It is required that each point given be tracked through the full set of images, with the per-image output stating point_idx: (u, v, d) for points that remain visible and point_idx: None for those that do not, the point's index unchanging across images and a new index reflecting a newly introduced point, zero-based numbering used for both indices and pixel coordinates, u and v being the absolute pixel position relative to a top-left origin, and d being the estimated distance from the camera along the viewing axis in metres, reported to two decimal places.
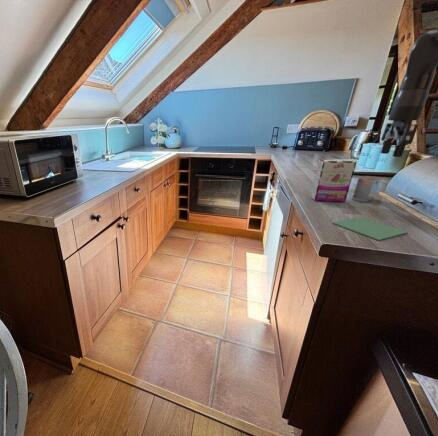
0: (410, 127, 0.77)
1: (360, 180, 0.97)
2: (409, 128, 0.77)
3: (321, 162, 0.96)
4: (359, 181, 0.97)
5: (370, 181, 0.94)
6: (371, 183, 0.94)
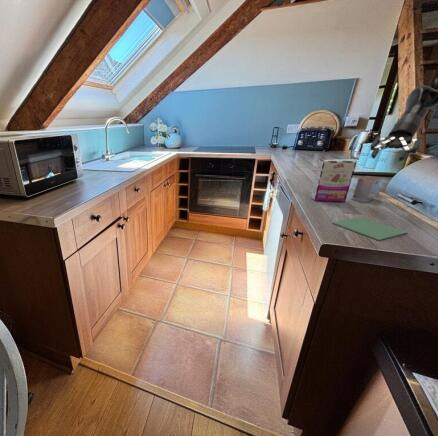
0: (421, 140, 0.95)
1: (360, 180, 0.97)
2: (420, 141, 0.95)
3: (321, 162, 0.96)
4: (359, 181, 0.97)
5: (370, 181, 0.94)
6: (371, 183, 0.94)
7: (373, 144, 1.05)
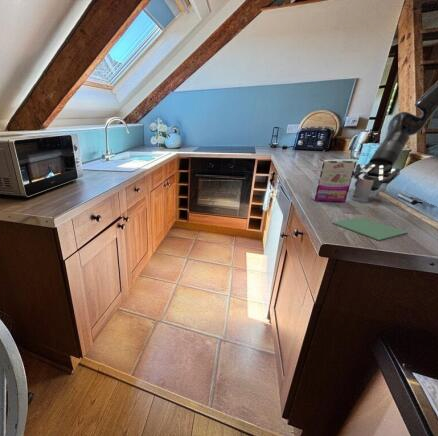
0: (398, 172, 0.93)
1: (360, 180, 0.97)
2: (398, 172, 0.93)
3: (321, 162, 0.96)
4: (359, 181, 0.97)
5: (370, 181, 0.94)
6: (371, 183, 0.94)
7: (356, 173, 1.01)
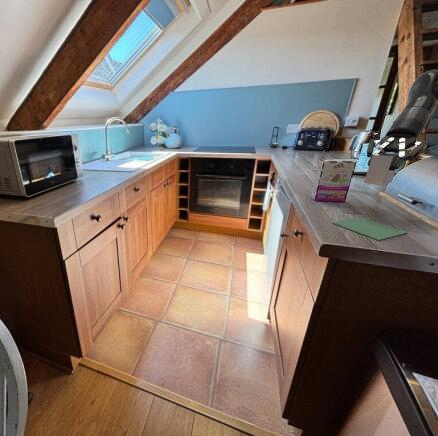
0: (425, 145, 0.72)
1: (375, 157, 0.76)
2: (424, 145, 0.72)
3: (321, 162, 0.96)
4: (374, 158, 0.76)
5: (388, 157, 0.73)
6: (390, 160, 0.73)
7: (369, 149, 0.80)
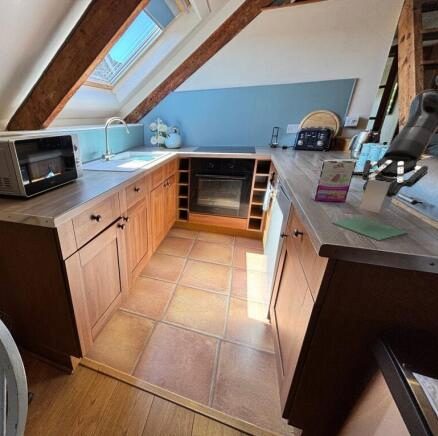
0: (426, 171, 0.65)
1: (371, 182, 0.69)
2: (425, 171, 0.65)
3: (321, 162, 0.96)
4: (369, 183, 0.70)
5: (385, 183, 0.67)
6: (387, 186, 0.67)
7: (365, 172, 0.74)
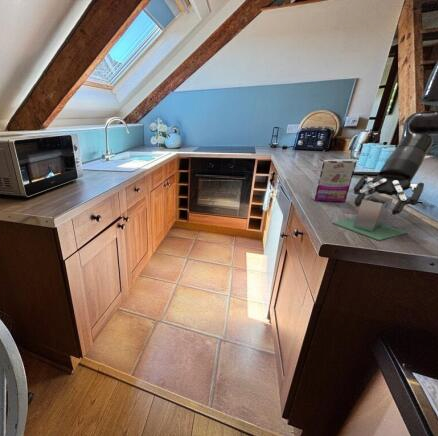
0: (423, 187, 0.67)
1: (364, 202, 0.71)
2: (422, 187, 0.67)
3: (321, 162, 0.96)
4: (363, 203, 0.72)
5: (378, 204, 0.69)
6: (379, 207, 0.69)
7: (357, 186, 0.77)
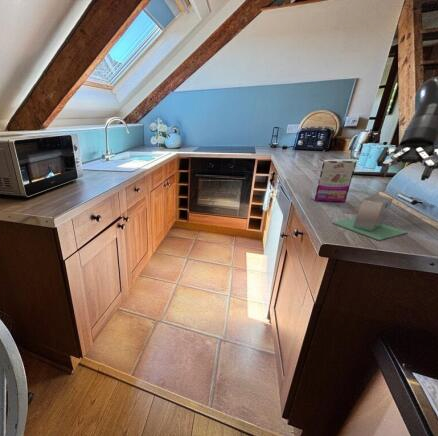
0: None
1: (364, 202, 0.71)
2: None
3: (321, 162, 0.96)
4: (363, 203, 0.72)
5: (378, 204, 0.69)
6: (379, 207, 0.69)
7: (380, 158, 0.78)
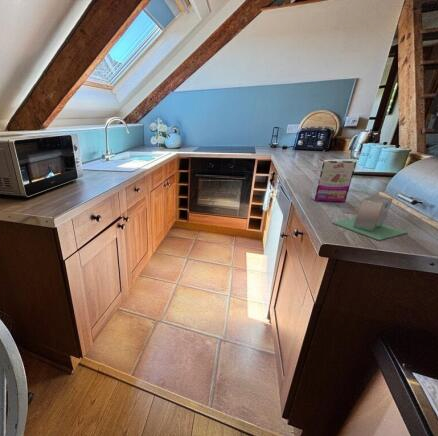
0: None
1: (364, 202, 0.71)
2: None
3: (321, 162, 0.96)
4: (363, 203, 0.72)
5: (378, 204, 0.69)
6: (379, 207, 0.69)
7: (433, 108, 0.65)
